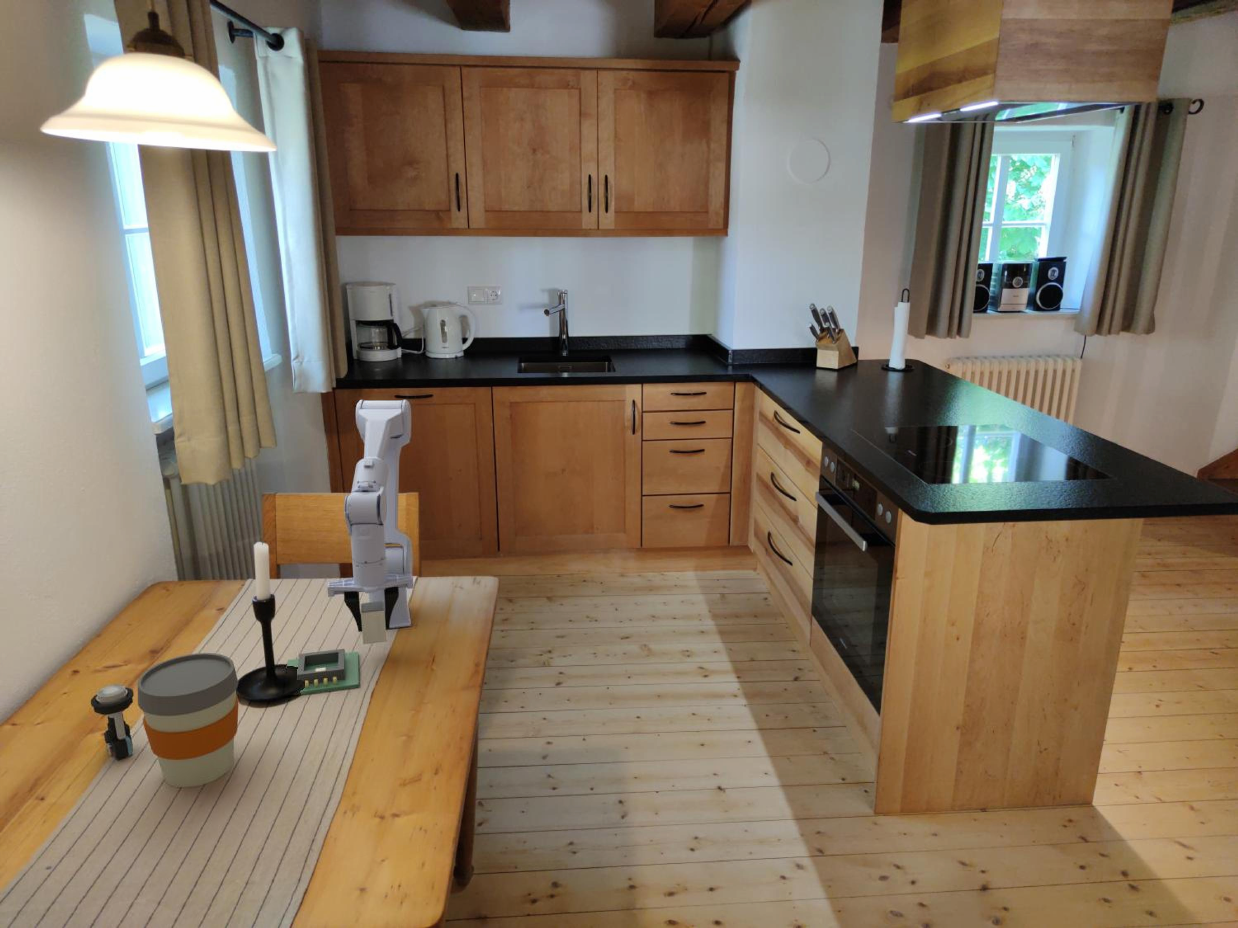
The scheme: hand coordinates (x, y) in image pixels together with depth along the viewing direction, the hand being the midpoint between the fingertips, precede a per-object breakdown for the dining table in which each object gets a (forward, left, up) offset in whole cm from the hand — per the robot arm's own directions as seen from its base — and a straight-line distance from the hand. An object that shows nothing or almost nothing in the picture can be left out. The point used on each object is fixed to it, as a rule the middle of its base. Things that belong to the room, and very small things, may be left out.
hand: (373, 627), depth 151 cm
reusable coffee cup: (+27, -25, -6) cm, 37 cm away
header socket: (+4, -9, -6) cm, 12 cm away
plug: (0, 0, -2) cm, 2 cm away
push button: (+19, -37, -6) cm, 42 cm away
